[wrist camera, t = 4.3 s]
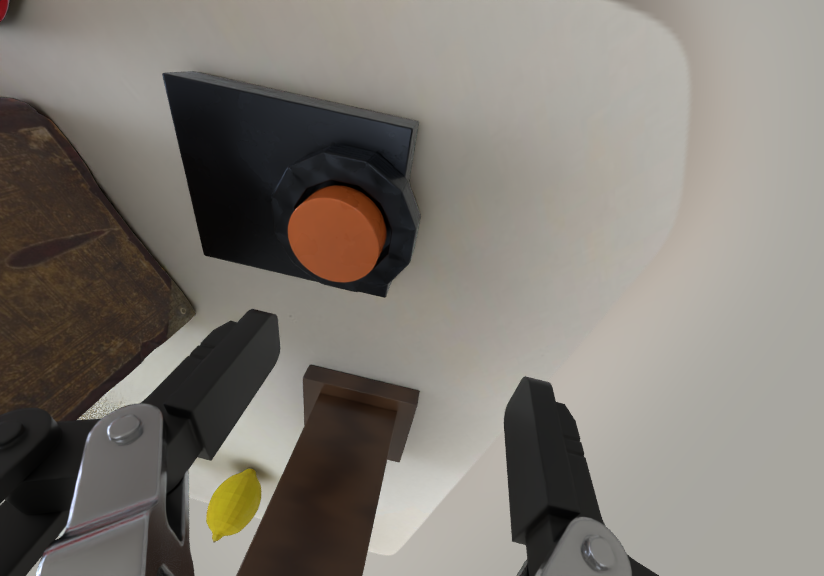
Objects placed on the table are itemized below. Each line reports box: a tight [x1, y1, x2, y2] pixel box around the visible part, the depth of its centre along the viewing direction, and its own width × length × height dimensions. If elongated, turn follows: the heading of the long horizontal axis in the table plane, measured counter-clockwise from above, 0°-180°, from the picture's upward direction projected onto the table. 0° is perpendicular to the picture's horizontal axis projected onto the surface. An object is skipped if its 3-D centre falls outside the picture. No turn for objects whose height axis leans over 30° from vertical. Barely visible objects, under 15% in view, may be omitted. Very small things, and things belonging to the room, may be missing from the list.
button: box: [288, 185, 386, 282], centre depth 16 cm, size 4×4×2 cm
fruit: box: [206, 468, 261, 542], centre depth 40 cm, size 6×6×8 cm
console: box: [162, 71, 421, 298], centre depth 18 cm, size 13×10×4 cm
